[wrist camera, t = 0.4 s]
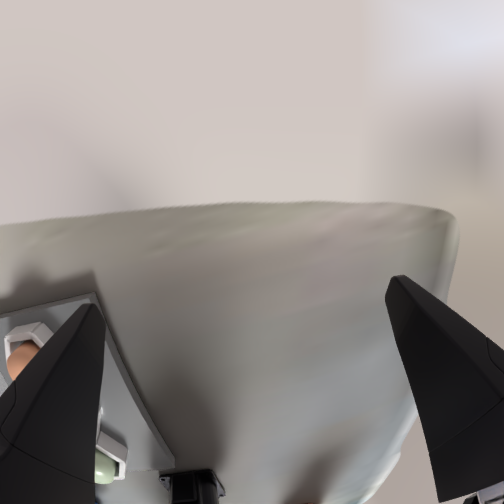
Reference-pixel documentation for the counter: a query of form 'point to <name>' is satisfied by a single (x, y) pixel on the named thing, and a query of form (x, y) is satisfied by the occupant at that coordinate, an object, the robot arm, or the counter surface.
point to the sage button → (104, 468)
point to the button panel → (112, 389)
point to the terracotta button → (21, 357)
